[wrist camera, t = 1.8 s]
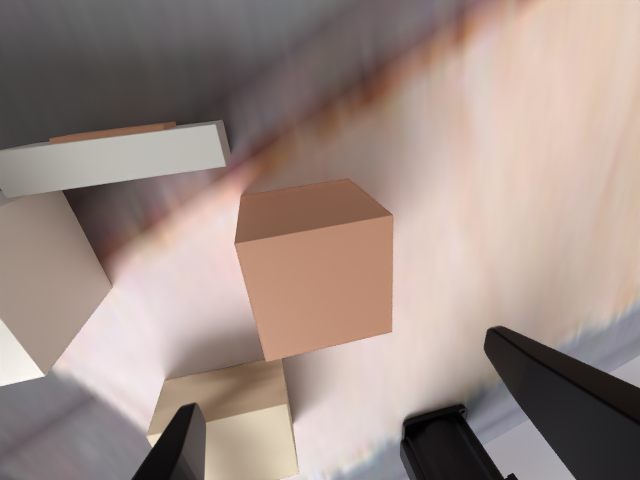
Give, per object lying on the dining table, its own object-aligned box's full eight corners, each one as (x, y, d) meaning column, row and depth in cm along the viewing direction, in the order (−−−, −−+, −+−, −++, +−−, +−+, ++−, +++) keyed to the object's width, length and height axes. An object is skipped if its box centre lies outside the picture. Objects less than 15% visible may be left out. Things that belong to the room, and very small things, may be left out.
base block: (281, 353, 21) (286, 403, 18) (292, 420, 25) (298, 474, 21) (165, 377, 20) (146, 436, 16) (194, 444, 24) (184, 505, 20)
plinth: (221, 115, 14) (213, 118, 11) (231, 154, 15) (225, 166, 12) (34, 138, 13) (-25, 148, 10) (55, 179, 13) (6, 197, 11)
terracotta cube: (348, 178, 16) (393, 214, 11) (353, 268, 19) (392, 332, 14) (240, 195, 16) (234, 243, 10) (262, 286, 18) (266, 362, 13)
